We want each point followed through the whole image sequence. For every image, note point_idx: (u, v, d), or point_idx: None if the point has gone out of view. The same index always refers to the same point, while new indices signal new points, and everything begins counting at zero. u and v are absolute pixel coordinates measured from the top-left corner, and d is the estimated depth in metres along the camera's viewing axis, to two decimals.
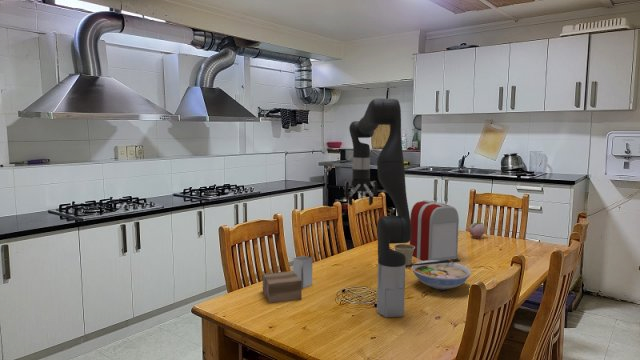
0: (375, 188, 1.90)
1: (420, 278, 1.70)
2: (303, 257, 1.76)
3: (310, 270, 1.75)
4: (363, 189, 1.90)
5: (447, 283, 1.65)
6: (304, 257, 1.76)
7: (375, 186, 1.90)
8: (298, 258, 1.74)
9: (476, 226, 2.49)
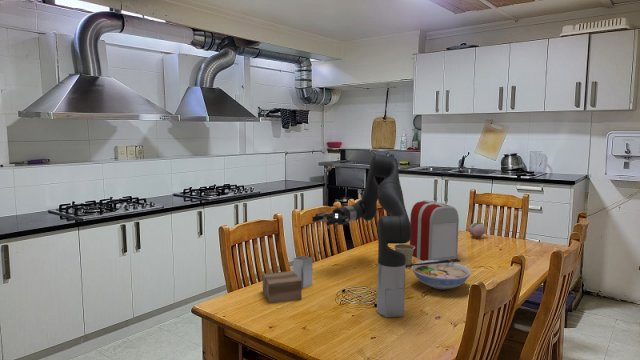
0: (343, 217, 1.84)
1: (420, 278, 1.70)
2: (303, 257, 1.76)
3: (310, 270, 1.75)
4: (333, 216, 1.87)
5: (447, 283, 1.65)
6: (304, 257, 1.76)
7: (344, 217, 1.84)
8: (298, 258, 1.75)
9: (476, 226, 2.49)
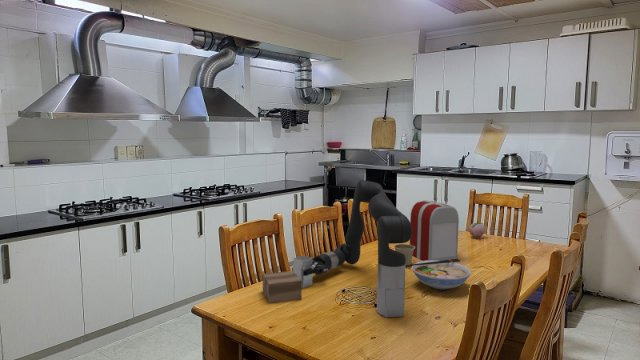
0: (321, 267, 1.76)
1: (420, 278, 1.70)
2: (303, 257, 1.76)
3: None
4: (312, 264, 1.79)
5: (447, 283, 1.65)
6: (304, 257, 1.76)
7: (322, 266, 1.76)
8: (298, 258, 1.74)
9: (476, 226, 2.49)
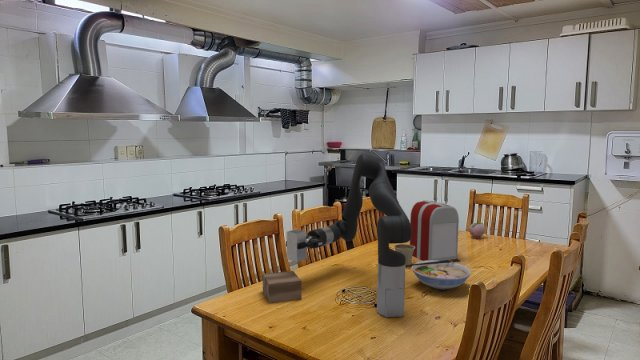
0: (315, 241, 1.71)
1: (420, 278, 1.70)
2: (297, 230, 1.71)
3: None
4: (306, 239, 1.74)
5: (447, 283, 1.65)
6: (298, 230, 1.71)
7: (317, 240, 1.71)
8: (292, 231, 1.70)
9: (476, 226, 2.49)
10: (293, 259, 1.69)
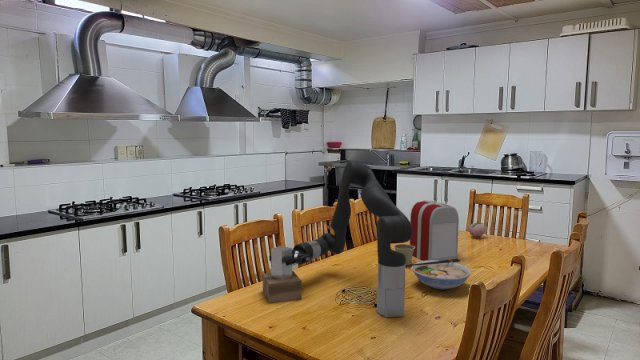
0: (303, 256, 1.64)
1: (420, 278, 1.70)
2: (282, 247, 1.64)
3: None
4: (292, 254, 1.67)
5: (447, 283, 1.65)
6: (283, 247, 1.64)
7: (305, 255, 1.64)
8: (277, 248, 1.63)
9: (476, 226, 2.49)
10: (278, 277, 1.62)
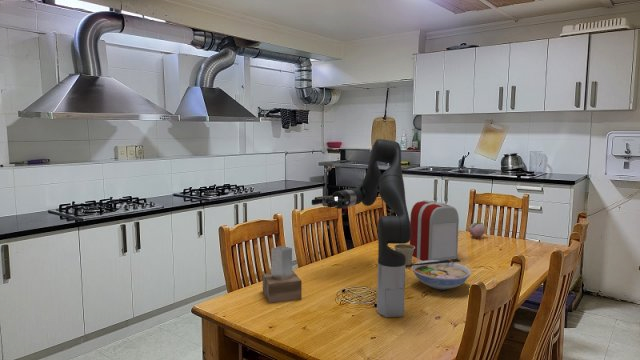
0: (343, 200, 1.80)
1: (420, 278, 1.70)
2: (282, 247, 1.64)
3: (289, 261, 1.63)
4: (332, 199, 1.83)
5: (447, 283, 1.65)
6: (283, 247, 1.64)
7: (344, 199, 1.81)
8: (277, 248, 1.63)
9: (476, 226, 2.49)
10: (278, 277, 1.62)
